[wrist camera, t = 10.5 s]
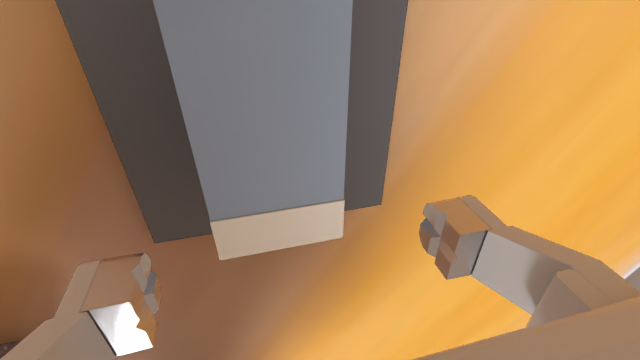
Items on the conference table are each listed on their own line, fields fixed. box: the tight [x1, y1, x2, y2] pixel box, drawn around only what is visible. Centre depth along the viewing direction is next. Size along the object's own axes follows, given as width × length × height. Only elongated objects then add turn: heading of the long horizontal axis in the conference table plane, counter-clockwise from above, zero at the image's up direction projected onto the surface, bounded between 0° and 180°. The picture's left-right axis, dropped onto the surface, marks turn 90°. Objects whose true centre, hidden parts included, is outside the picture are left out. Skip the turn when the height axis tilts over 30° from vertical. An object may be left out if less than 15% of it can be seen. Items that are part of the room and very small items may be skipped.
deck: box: [153, 0, 353, 261], centre depth 15 cm, size 11×6×4 cm, turn 179°
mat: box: [55, 0, 408, 243], centre depth 17 cm, size 15×14×1 cm
